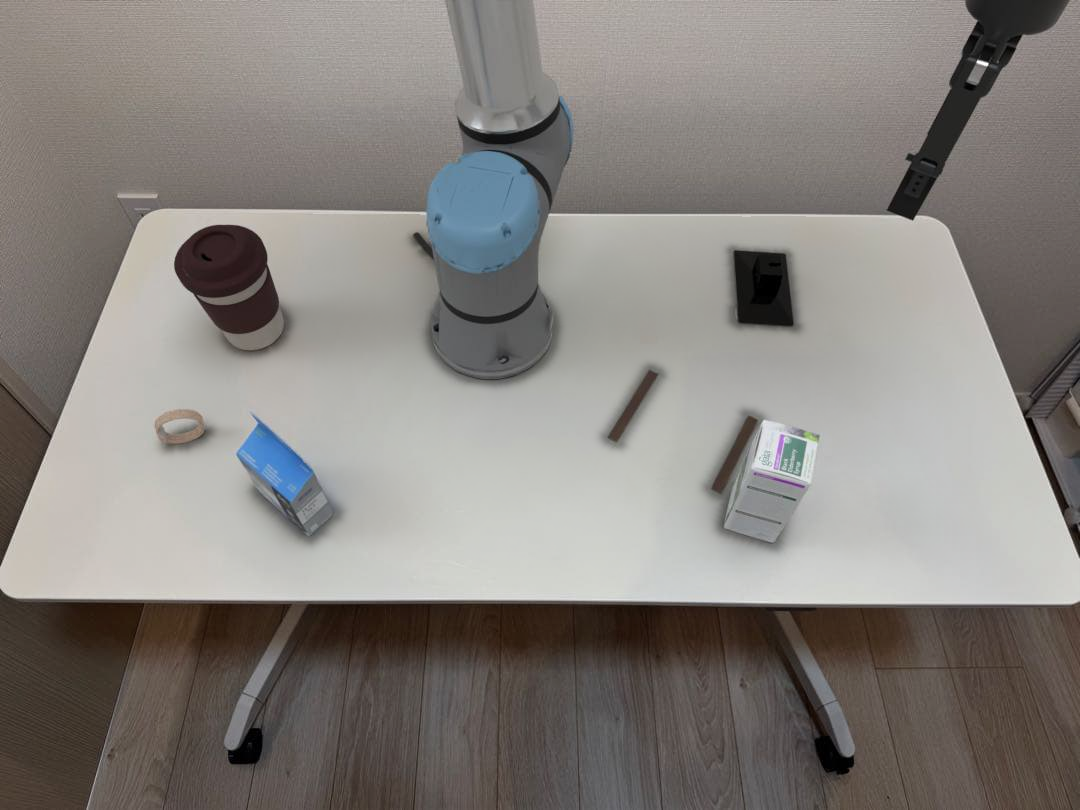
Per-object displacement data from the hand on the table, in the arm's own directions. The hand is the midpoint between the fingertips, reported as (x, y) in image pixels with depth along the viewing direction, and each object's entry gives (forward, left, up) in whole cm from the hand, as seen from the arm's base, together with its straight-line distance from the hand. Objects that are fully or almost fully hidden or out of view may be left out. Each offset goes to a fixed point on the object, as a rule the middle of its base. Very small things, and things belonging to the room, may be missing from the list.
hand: (921, 173), depth 79 cm
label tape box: (-44, -56, -23) cm, 75 cm away
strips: (-11, -26, -23) cm, 37 cm away
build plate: (-11, -1, -23) cm, 26 cm away
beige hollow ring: (-60, -56, -23) cm, 85 cm away
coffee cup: (-64, -40, -23) cm, 79 cm away
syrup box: (0, -32, -23) cm, 40 cm away
